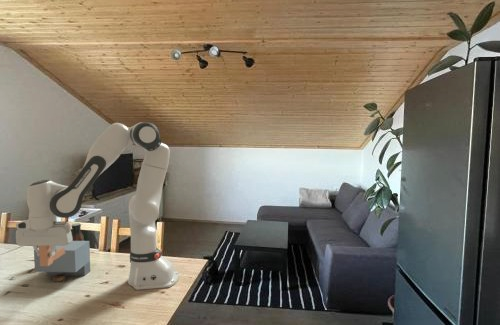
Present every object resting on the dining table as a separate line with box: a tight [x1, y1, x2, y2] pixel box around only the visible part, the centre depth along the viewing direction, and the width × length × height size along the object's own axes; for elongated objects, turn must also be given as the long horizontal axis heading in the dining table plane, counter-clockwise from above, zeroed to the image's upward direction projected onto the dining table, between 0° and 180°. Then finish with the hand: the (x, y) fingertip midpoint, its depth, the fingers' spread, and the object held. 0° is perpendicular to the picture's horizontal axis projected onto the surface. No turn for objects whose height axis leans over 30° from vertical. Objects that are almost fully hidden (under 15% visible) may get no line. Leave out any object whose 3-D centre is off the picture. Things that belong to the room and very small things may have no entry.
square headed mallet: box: [39, 246, 65, 266], centre depth 122 cm, size 3×12×9 cm, turn 179°
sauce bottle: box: [71, 222, 85, 241], centre depth 154 cm, size 7×6×20 cm
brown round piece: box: [52, 274, 66, 284], centre depth 134 cm, size 4×4×2 cm
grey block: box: [33, 240, 91, 277], centre depth 137 cm, size 18×12×15 cm, turn 90°
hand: (46, 255), depth 118 cm, fingers closed on square headed mallet, 3 cm apart
